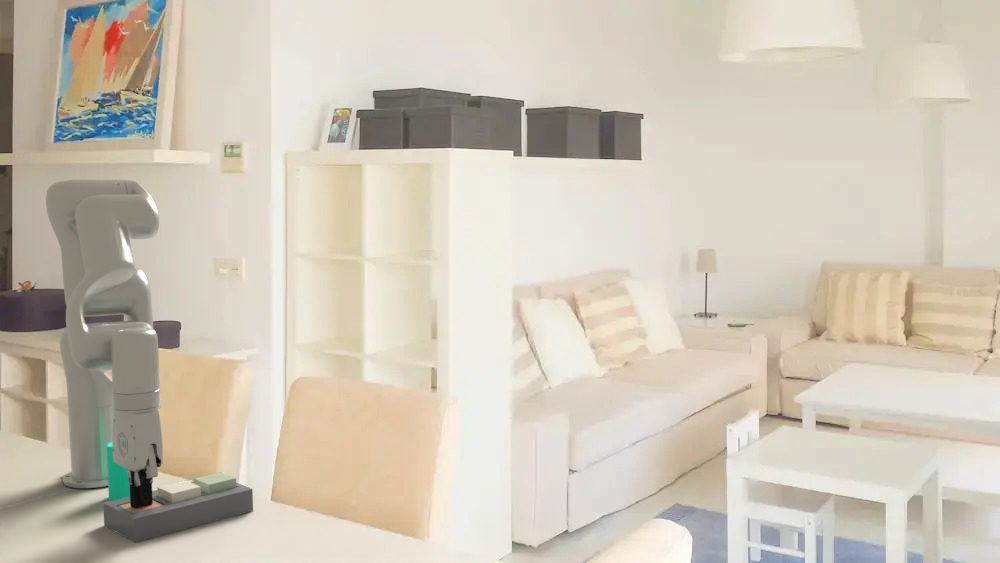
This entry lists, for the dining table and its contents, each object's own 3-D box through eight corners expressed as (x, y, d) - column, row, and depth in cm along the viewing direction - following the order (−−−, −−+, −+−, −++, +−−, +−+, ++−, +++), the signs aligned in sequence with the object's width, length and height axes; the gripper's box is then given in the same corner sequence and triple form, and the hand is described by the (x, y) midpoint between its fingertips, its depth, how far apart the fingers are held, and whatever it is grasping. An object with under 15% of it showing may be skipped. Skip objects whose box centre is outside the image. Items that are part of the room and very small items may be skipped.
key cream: (158, 504, 170) (157, 487, 170) (186, 497, 174) (185, 480, 174) (172, 511, 167) (171, 493, 166) (201, 504, 170) (200, 486, 170)
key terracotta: (119, 523, 165) (118, 505, 165) (149, 516, 169) (149, 498, 169) (133, 531, 162) (133, 512, 161) (164, 523, 166) (163, 505, 165)
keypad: (104, 525, 167) (103, 502, 167) (219, 496, 183) (218, 475, 182) (135, 542, 159) (134, 518, 158) (253, 510, 174) (252, 488, 174)
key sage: (194, 495, 175) (194, 478, 175) (221, 489, 179) (220, 472, 179) (209, 502, 172) (209, 484, 171) (236, 495, 175) (236, 478, 175)
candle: (131, 503, 179) (128, 439, 178) (102, 501, 180) (99, 438, 179) (148, 493, 185) (146, 431, 184) (120, 491, 186) (118, 430, 185)
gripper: (96, 398, 166) (101, 502, 168) (135, 410, 156) (140, 521, 157) (138, 391, 171) (142, 492, 173) (178, 403, 161) (183, 510, 162)
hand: (141, 505), depth 165 cm, fingers closed
